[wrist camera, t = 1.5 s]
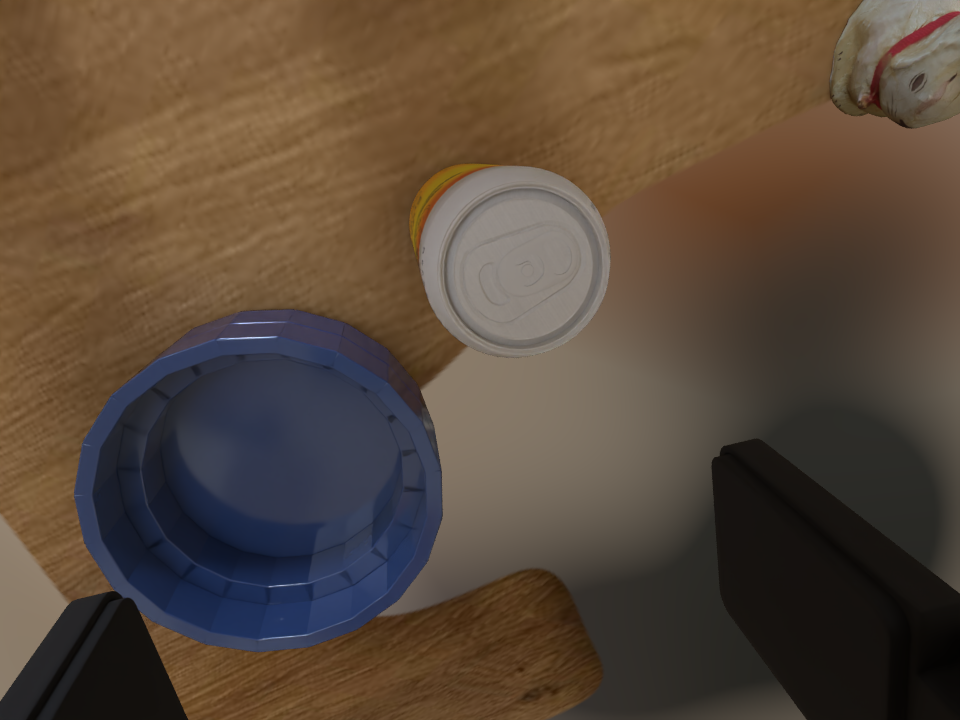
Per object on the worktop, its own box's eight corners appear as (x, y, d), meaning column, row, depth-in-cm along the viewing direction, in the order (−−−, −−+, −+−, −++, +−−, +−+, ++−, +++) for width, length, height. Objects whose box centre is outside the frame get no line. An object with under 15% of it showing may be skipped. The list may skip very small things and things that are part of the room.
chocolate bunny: (790, 54, 33) (952, 12, 23) (915, -51, 32) (1134, -138, 23) (838, 142, 35) (1007, 135, 25) (958, 43, 34) (1178, -1, 24)
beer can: (388, 194, 32) (388, 223, 18) (496, 143, 32) (580, 130, 18) (439, 300, 34) (475, 399, 20) (541, 251, 34) (649, 316, 20)
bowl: (157, 268, 32) (106, 292, 26) (470, 353, 35) (485, 390, 30) (104, 548, 36) (51, 622, 30) (390, 599, 39) (390, 673, 34)
